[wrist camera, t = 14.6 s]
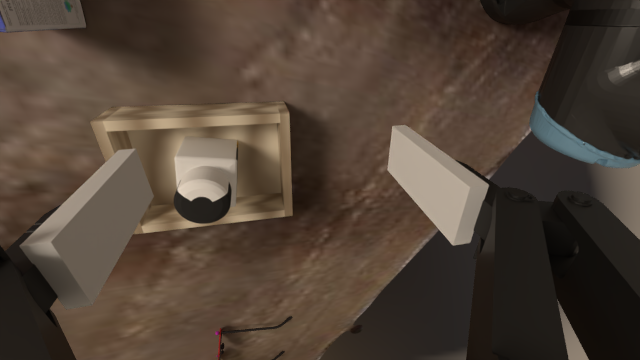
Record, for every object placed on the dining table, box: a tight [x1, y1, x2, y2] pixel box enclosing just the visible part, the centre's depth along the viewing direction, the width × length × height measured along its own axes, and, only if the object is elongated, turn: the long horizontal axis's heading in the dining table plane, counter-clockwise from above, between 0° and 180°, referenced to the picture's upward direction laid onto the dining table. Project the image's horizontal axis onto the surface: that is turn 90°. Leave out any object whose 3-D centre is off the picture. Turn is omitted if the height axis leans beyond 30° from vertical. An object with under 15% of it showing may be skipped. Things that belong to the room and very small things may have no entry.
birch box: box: [90, 101, 293, 234], centre depth 40 cm, size 22×16×6 cm
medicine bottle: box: [174, 136, 238, 224], centre depth 36 cm, size 7×7×12 cm
